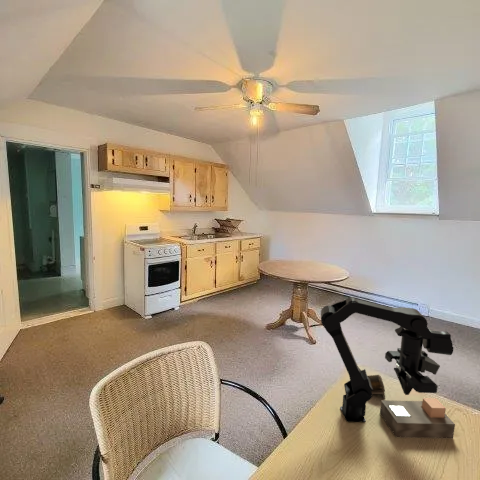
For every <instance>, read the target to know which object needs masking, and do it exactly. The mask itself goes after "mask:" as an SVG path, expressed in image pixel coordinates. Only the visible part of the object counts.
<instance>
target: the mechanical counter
mask: <svg viewBox="0 0 480 480" xmlns="http://www.w3.org/2000/svg"><path fill="white" fill-rule="evenodd" d="M367 376H368V377H369V378H370V382H371V385H372V388H373V391H371V392H372V395H382V396H383V398H386V394H385V392H386V388H385V385H384V381H383V379H382V376H381V375H380V374H375V375H367Z"/></svg>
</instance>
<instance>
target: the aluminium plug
mask: <svg viewBox="0 0 480 480" xmlns="http://www.w3.org/2000/svg"><path fill="white" fill-rule="evenodd" d="M389 408H390V409H391V410H392V412H393V413H394V415H395V416H396V417H410V415H409V414H408V413H407V411H406V410H405V409H404V408H403V406H389Z"/></svg>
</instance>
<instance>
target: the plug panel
mask: <svg viewBox="0 0 480 480" xmlns="http://www.w3.org/2000/svg"><path fill="white" fill-rule="evenodd" d="M380 401H381V402H380V407H379V408H380V410H379V414H380V416H381V417H382V419H383V420H384V422H385V423H386V425H387V426H388V428H389V429H390V431H391V432H392V434H393V436H394V437H395V438H405V439H407V438H409V439H413V438H414V439H454V435H455V429H456V428H455V427H456V423H455V422H454V421H453V420H452V419H451V418H449V416H448V415H447V414H446V413H445V417H444V418H430V417H429V415H428V414H427V413H426V412H425V411H424V410H423V409H422V402H423V400H385V399H384V400H383V399H382V400H381V399H380ZM389 406H403V408H404V409H405V410H406V411H407V413H408V414H409V415H410V417H396V416H395V415H394V413H393V412H392V410H391V409H390V408H389Z"/></svg>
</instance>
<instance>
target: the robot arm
mask: <svg viewBox="0 0 480 480" xmlns="http://www.w3.org/2000/svg"><path fill="white" fill-rule="evenodd" d="M354 314H360V315H363V316H367V317H369V318H370V317H371V318H375V319H378V320H383V321H387V322H390V323H393V324H396V325H397V326H399V327H397V328H395V329H394V331H395V334H396V335H397V336H399V337H401V341H400V348H399V347H397V350H387V352H385V353H384V359H385V360H386V361H387V362H388V363H391V362H393V360H395V365H396V367H394V368H393V371H394V372H395V374H396V378H397V379H398V382H399V384H400V386H401V388H402V392H403V394H404V395H405V396H409V395H410V393H411V392H412V390H414V391H415V392H416V393H419V394H425V393H426V394H437V393H438V387H439V386H438V384H437V383H436V382H434V381H433V380H432V379H431V377H429V376H428V375H423V374H422V373H425V372H428V373H431V374H433V375H437V373H438V372H439V370H440V368H441V365H440V364H439V363H438V362H436V361H435V360H434V359H432V358H431V357H430V356H428V353H430V354H438V355H439V354H440V355H445V356H452V354H453V353H454V345H453V341H452V339H451V338H452V334H450V332H448V331H442V330H441V331H440V330H439V331H438V330H431V329H430V328H429V327H428V320H427V319H426V317H425V316H424V315H423V314H422V313H421V312H420V311H419V310H418V309H416V308H413V307H403V306H401V307H391V306H386V305H383V304H378V303H374V302H371V301H366V300H361V299H357V298H355V297H352V296H350V297H348V298H346V299H344V300H340V301H338V302H335V303H333V304H331V305H325V306H323V307H322V308H321V310H320V323H321V325H322V326H323V328H324V329H325V330H326V332H327V334H329V336H330V337H331V338H332V340H333V342H334V345H335V347H336V349H337V351H338V353H339V356H340V358H341V360H342V363H343V365H344V367H345V369H346V371H347V373H348V376H349V380H348V381H347V382H346V383H344V385H343V387H344V393H345V394H343V396H342V405H340V407H339V409H340V411H341V413H342V414H343V417H344V419H345V421H346V422H348V423H349V422H351V423H352V422H353V423H366V422H367V419H366V418H365V417H366V409H367V408H366V407H367V405H366V404H367V403H368V402H369V401H370V400H371V399H372V397H373V394H372V392H371V391H373V388H372V385H371V382H370V378H369V377H368V376H369V375H368V374H367V371H366V368H364V369H362V370H361V368H360V367H359V366H358V363H357V361H356V359H355V357H354V355H353V352H352V349H351V347H350V346H349V343H348V340H347V339H346V337H345V335H344V332H343V329H342V325H341V323H343V322H344V321H345V320H347V319H348V318H349V317H351V316H352V315H354ZM423 349H426V351H427V352H428V353H427V352H426V351H424V350H423Z"/></svg>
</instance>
